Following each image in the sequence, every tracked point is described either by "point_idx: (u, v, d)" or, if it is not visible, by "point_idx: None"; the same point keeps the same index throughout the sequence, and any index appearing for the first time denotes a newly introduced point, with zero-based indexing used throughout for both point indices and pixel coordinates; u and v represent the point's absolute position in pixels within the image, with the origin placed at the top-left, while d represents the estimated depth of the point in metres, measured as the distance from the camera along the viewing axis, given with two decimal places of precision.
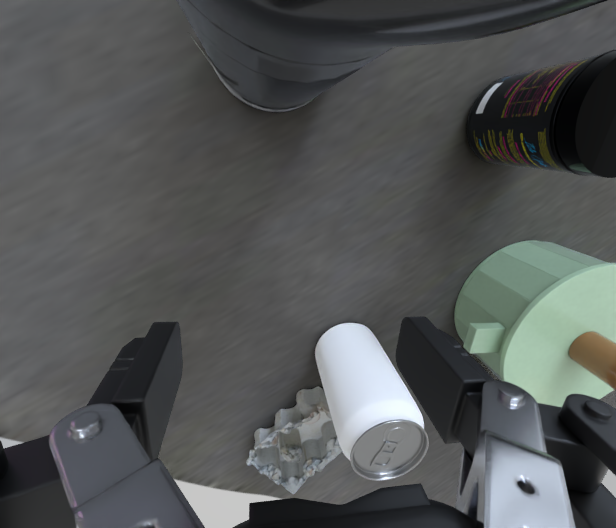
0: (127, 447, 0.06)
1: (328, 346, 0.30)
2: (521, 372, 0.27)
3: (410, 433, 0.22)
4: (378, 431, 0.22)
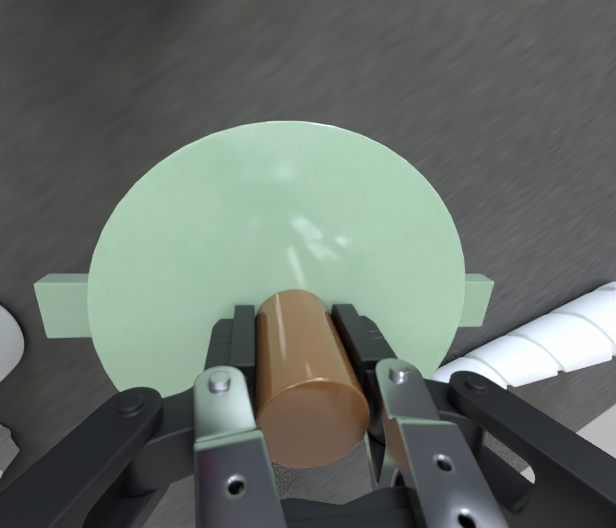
0: (242, 410, 0.07)
1: None
2: (157, 378, 0.13)
3: None
4: None
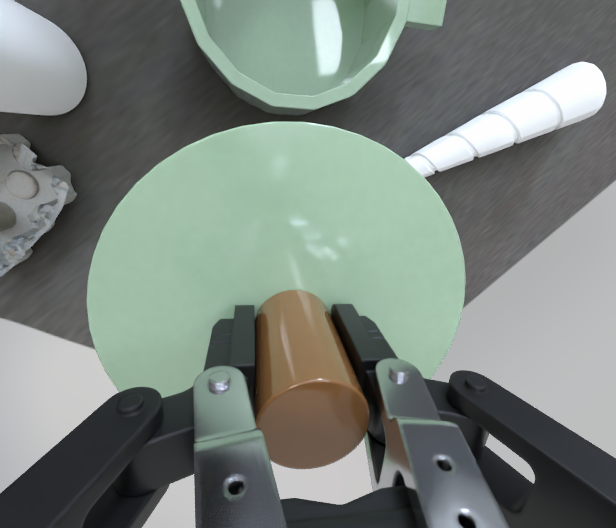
0: (242, 409, 0.07)
1: None
2: (157, 378, 0.13)
3: None
4: None
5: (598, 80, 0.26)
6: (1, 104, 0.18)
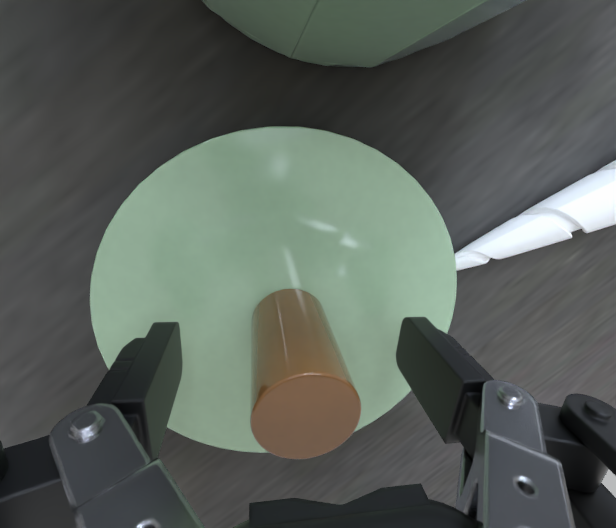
0: (127, 447, 0.06)
1: None
2: None
3: None
4: None
5: None
6: None
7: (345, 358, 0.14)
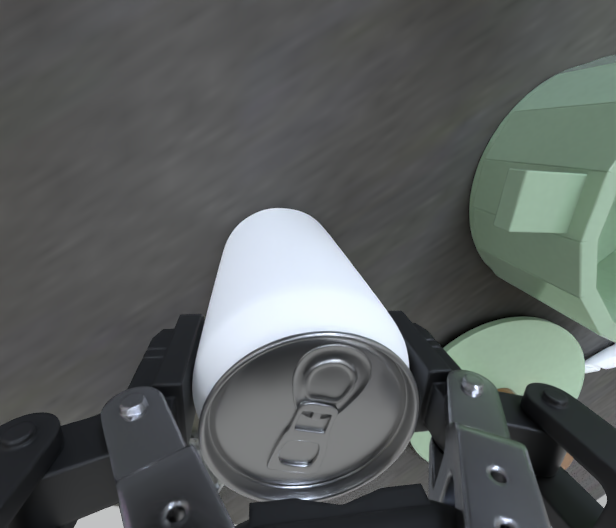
0: (166, 429, 0.06)
1: (233, 238, 0.16)
2: (428, 431, 0.25)
3: (370, 377, 0.08)
4: (276, 370, 0.08)
5: None
6: None
7: None
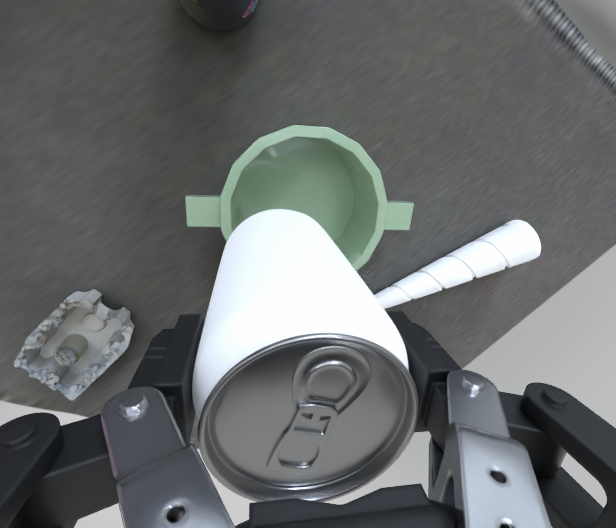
0: (166, 430, 0.06)
1: (232, 239, 0.16)
2: None
3: (369, 379, 0.08)
4: (276, 372, 0.08)
5: (534, 240, 0.34)
6: None
7: None
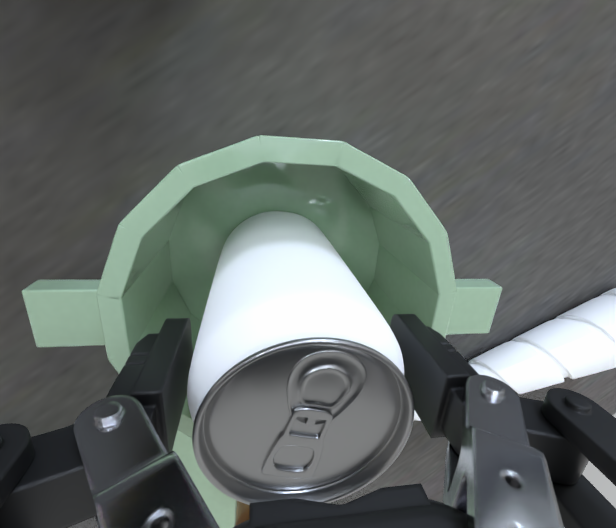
0: (146, 438, 0.06)
1: (230, 241, 0.16)
2: None
3: (365, 383, 0.08)
4: (271, 376, 0.08)
5: None
6: None
7: None
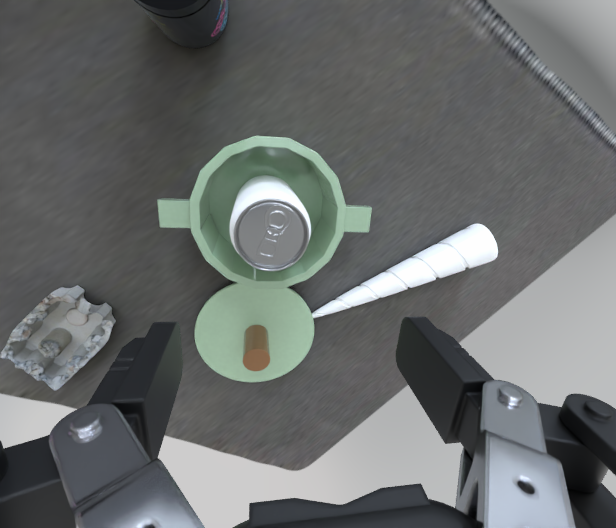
0: (127, 447, 0.06)
1: (242, 188, 0.32)
2: (213, 352, 0.40)
3: (291, 219, 0.24)
4: (259, 214, 0.24)
5: (491, 243, 0.37)
6: None
7: (276, 347, 0.41)
